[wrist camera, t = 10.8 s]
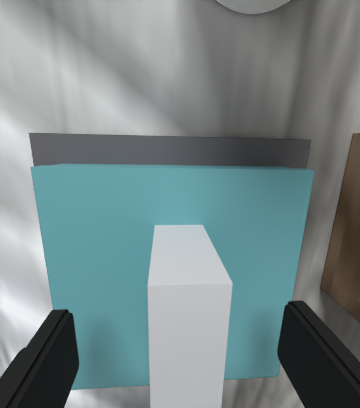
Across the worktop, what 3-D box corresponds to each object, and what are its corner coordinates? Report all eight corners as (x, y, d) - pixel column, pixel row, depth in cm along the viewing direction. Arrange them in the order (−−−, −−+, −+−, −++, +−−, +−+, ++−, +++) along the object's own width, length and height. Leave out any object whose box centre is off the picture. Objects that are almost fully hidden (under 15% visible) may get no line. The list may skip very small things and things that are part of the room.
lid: (258, 337, 17) (336, 492, 9) (83, 346, 16) (9, 529, 8) (282, 165, 14) (437, 187, 6) (61, 162, 13) (-101, 184, 5)
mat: (270, 343, 18) (275, 352, 18) (68, 354, 17) (64, 363, 16) (302, 140, 14) (310, 139, 13) (36, 133, 13) (29, 132, 12)
